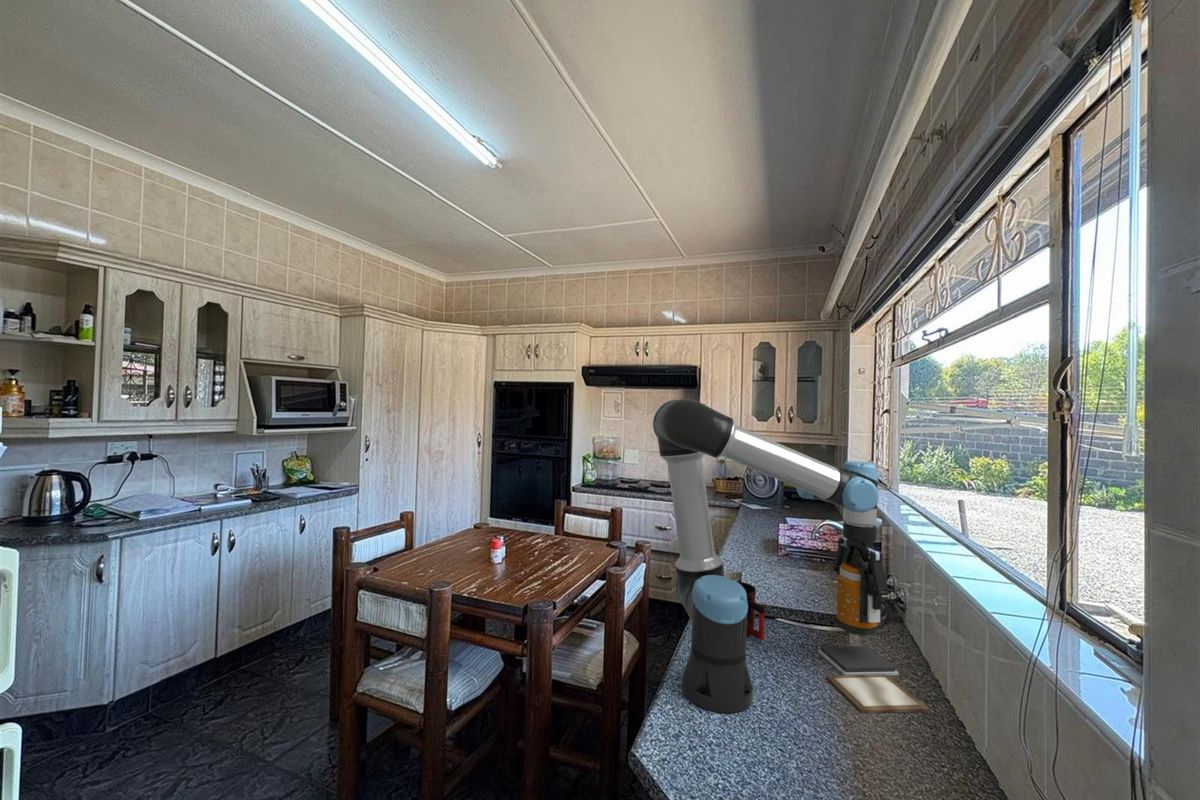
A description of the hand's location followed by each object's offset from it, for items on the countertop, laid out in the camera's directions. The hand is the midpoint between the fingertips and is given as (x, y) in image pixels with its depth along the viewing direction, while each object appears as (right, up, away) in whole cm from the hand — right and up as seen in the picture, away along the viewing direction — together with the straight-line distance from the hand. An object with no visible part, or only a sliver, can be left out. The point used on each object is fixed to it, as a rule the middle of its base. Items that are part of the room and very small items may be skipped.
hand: (858, 611), depth 120 cm
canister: (0, -5, 0) cm, 5 cm away
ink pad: (-1, -13, 0) cm, 13 cm away
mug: (-24, -12, +15) cm, 31 cm away
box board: (-4, -12, -14) cm, 19 cm away
